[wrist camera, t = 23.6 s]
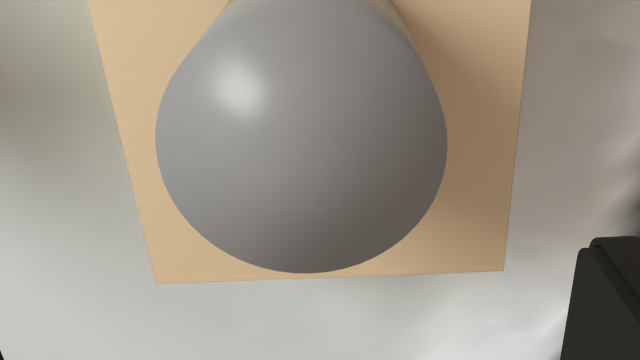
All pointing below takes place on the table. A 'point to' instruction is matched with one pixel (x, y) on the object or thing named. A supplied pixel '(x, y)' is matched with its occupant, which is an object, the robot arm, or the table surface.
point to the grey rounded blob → (302, 133)
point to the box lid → (451, 88)
